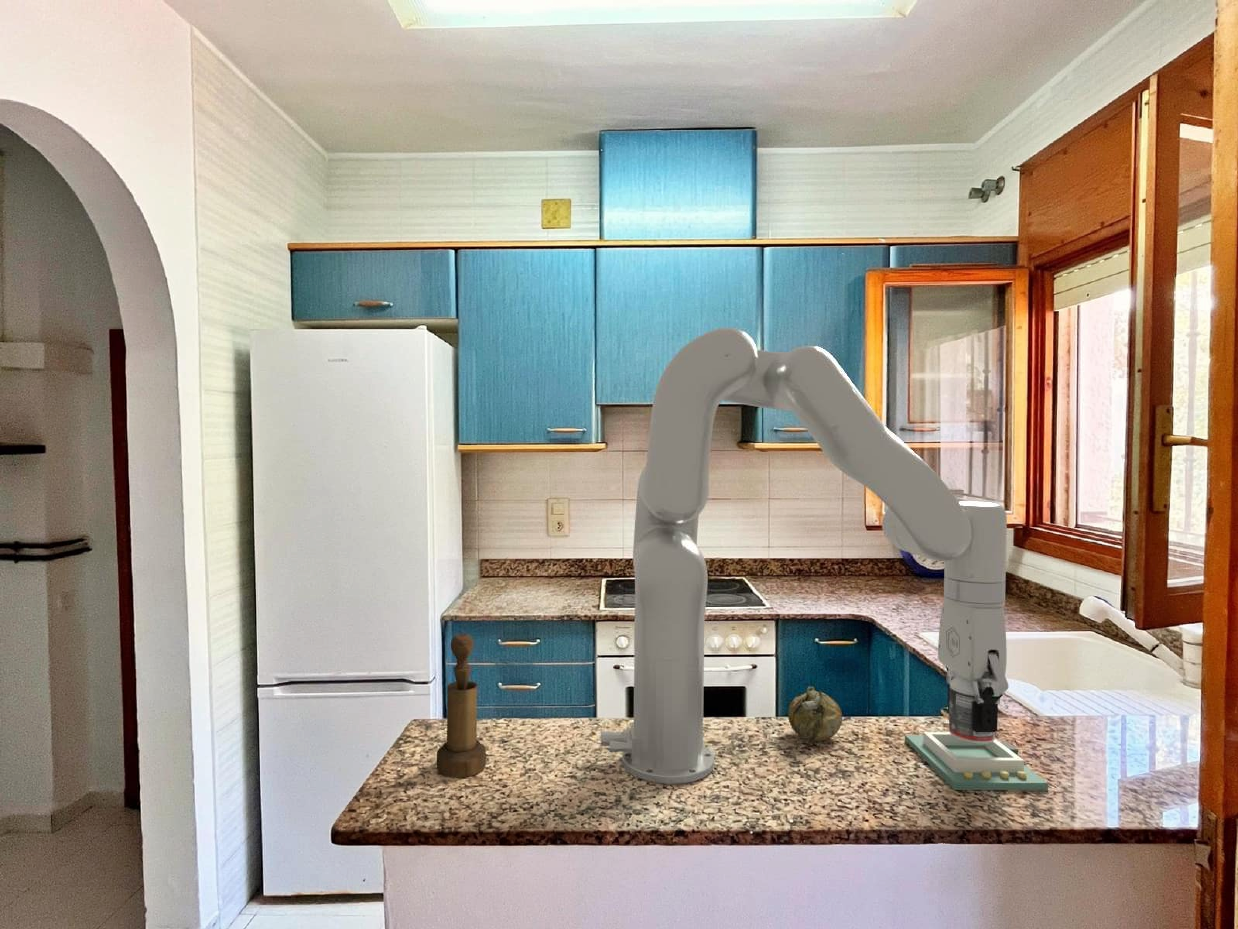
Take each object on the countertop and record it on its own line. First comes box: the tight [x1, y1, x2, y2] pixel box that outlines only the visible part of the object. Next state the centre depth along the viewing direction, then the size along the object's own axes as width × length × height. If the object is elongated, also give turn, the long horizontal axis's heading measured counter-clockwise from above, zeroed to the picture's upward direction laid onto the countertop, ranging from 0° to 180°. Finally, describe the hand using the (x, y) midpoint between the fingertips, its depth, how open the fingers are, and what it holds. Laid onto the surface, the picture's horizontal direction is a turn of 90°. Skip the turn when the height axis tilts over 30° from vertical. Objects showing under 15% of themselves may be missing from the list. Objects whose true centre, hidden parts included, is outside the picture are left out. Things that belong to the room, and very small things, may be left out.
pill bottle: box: [948, 672, 996, 745], centre depth 97 cm, size 6×6×10 cm
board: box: [904, 731, 1049, 792], centre depth 97 cm, size 12×15×3 cm
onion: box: [787, 686, 843, 742], centre depth 105 cm, size 8×8×8 cm
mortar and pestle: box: [436, 633, 487, 778], centre depth 94 cm, size 7×6×18 cm
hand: (971, 720), depth 97 cm, fingers closed on pill bottle, 5 cm apart
